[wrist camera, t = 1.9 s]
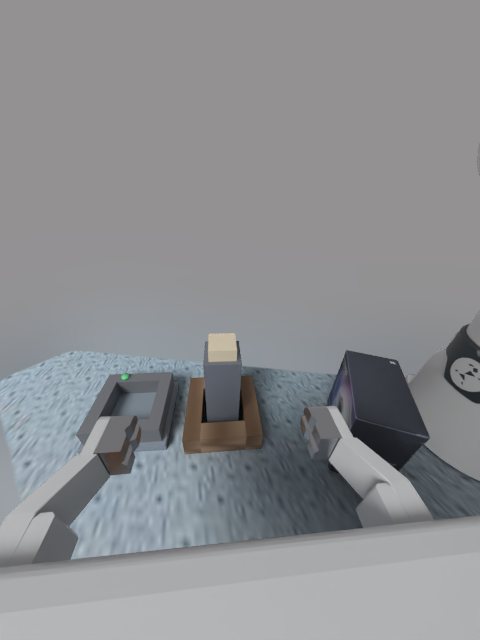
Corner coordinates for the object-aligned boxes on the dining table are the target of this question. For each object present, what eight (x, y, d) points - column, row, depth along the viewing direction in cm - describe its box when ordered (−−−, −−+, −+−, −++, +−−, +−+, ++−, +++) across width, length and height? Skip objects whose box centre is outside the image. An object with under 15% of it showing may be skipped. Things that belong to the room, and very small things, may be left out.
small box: (324, 398, 34) (344, 347, 28) (369, 411, 32) (399, 358, 27) (325, 469, 25) (353, 415, 20) (386, 491, 24) (436, 439, 18)
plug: (235, 403, 32) (238, 330, 25) (237, 429, 29) (242, 353, 22) (208, 405, 32) (204, 331, 25) (207, 431, 29) (202, 354, 22)
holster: (250, 388, 35) (252, 375, 33) (260, 448, 27) (263, 435, 25) (192, 391, 34) (190, 378, 32) (184, 453, 26) (182, 440, 25)
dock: (178, 385, 35) (175, 368, 33) (166, 449, 27) (161, 431, 24) (114, 388, 34) (106, 370, 32) (80, 455, 26) (67, 437, 23)
